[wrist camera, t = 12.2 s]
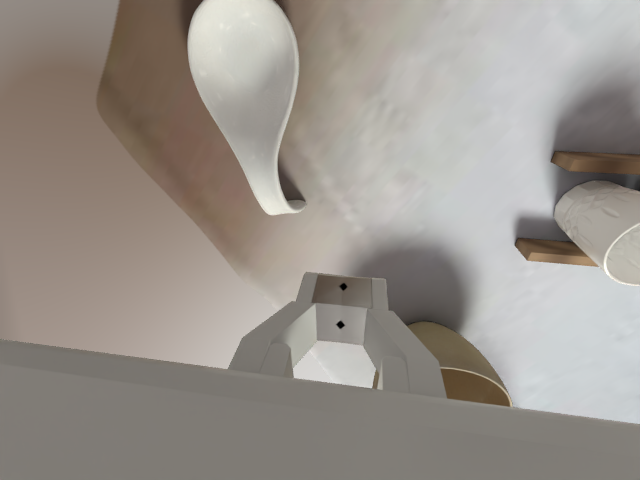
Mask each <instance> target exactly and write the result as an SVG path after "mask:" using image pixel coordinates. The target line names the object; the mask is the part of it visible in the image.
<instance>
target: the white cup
mask: <svg viewBox="0 0 640 480" xmlns="http://www.w3.org/2000/svg"><path fill="white" fill-rule="evenodd" d="M554 219H555V220H556V222H557V224H558V226H559V227H560V228H561V229H562V230H563V231H564V232H565V233H566V234H567V235H568V236H569V238H570V239H571V240H572V241H573V242H574V243H575V244H576V245H577V246H578V247H579V248H580V249H581V250H582V251H583V252H584V253H585V254H586V255H587V256H588V257H589V258H590V259H591V260H593V261H594V262H595V263H596V264H597V265H598V266H599V267H600V268H601V269H602V270H603V271H604V272H605V273H606V274H607V275H608V276H609V277H610V278H612V279H613V280H615V281H617V282H619V283H622V284H626V285H634V286H640V192H639V191H636V190H633V189H629V188H625V187H622V186H620V185H617V184H615V183H612V182H610V181H597V180H592V181H589V182H586V183H583V184H580V185H577V186H575V187H574V188H572V189H571V190H570V191H568V192H567V193H565V194H564V195H563V196H562V198H561V199H560V200H559V202H558V203H557V204H556V206H555V212H554Z"/></svg>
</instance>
